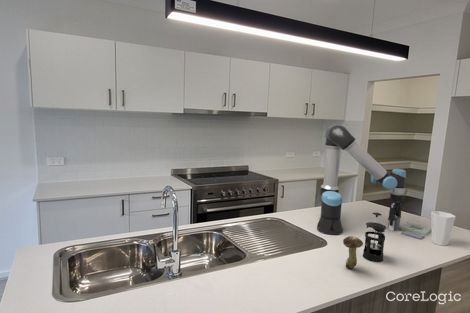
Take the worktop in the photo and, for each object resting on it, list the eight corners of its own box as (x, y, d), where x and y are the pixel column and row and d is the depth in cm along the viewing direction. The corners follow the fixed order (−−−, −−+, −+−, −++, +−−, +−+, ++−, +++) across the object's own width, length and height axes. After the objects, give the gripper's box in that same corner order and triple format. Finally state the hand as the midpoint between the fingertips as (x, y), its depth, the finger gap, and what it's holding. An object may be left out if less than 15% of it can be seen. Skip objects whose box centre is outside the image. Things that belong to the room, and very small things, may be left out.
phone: (400, 234, 177) (400, 232, 177) (404, 232, 181) (404, 230, 181) (420, 240, 169) (421, 238, 169) (424, 238, 173) (424, 236, 172)
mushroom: (358, 275, 127) (361, 243, 125) (338, 269, 132) (340, 238, 130) (362, 266, 135) (365, 236, 133) (342, 261, 140) (345, 231, 138)
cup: (452, 243, 164) (456, 214, 162) (450, 249, 157) (454, 218, 155) (429, 237, 172) (432, 209, 170) (426, 242, 165) (429, 213, 162)
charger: (387, 228, 185) (389, 216, 184) (390, 227, 188) (391, 214, 187) (396, 231, 181) (397, 218, 180) (399, 229, 185) (400, 216, 184)
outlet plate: (400, 229, 185) (400, 226, 184) (407, 224, 194) (407, 221, 194) (425, 236, 174) (425, 233, 174) (431, 230, 184) (432, 227, 184)
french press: (374, 264, 138) (379, 217, 135) (357, 256, 146) (361, 212, 143) (389, 259, 144) (394, 214, 141) (372, 251, 152) (376, 208, 149)
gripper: (397, 197, 172) (394, 234, 175) (409, 192, 186) (405, 226, 189) (384, 195, 178) (381, 230, 180) (396, 190, 192) (393, 223, 195)
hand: (393, 228), depth 185 cm, fingers open, 8 cm apart
